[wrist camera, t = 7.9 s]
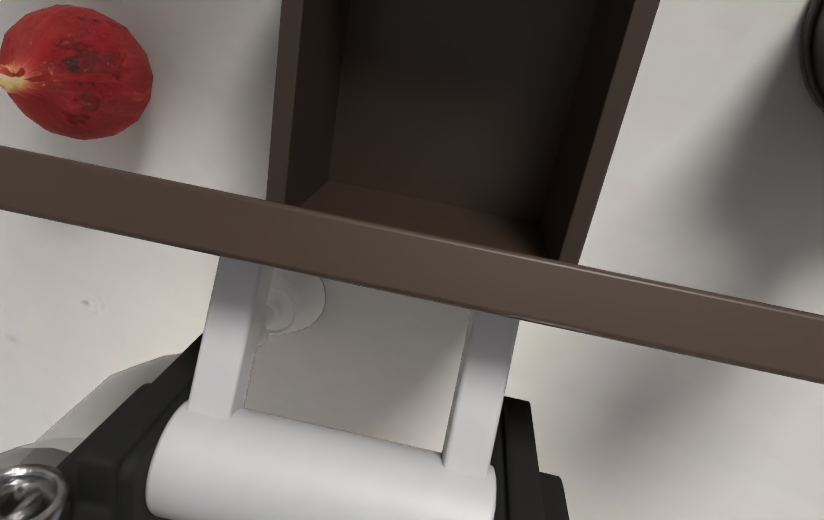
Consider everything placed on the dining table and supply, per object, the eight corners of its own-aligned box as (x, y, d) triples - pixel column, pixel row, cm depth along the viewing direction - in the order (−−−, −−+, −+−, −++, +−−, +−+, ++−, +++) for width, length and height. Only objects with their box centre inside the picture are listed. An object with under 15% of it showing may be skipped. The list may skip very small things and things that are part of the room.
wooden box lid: (-115, 121, 7) (-205, 507, 7) (889, 329, 7) (808, 754, 6) (260, 227, 23) (234, 349, 22) (571, 292, 22) (546, 418, 22)
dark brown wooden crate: (351, -130, 25) (297, -202, 18) (636, -80, 24) (701, -133, 17) (315, 188, 30) (262, 233, 23) (547, 235, 30) (568, 297, 22)
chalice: (224, 226, 32) (-67, 429, 15) (341, 239, 31) (177, 466, 14) (229, 340, 34) (-11, 619, 18) (338, 354, 34) (196, 657, 17)
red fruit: (160, -1, 28) (41, -18, 20) (196, 117, 30) (100, 141, 22) (58, 23, 29) (-91, 15, 21) (99, 135, 31) (-24, 165, 23)
